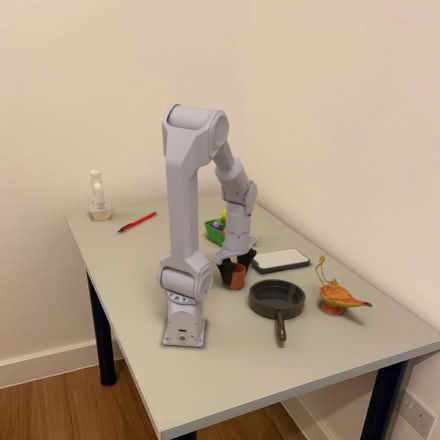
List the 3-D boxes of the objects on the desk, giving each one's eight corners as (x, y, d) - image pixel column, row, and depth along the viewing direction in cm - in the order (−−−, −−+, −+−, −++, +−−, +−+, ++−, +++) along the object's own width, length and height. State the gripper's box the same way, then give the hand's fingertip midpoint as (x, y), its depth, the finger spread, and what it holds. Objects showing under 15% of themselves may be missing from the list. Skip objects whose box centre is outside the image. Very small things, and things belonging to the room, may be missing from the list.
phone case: (294, 252, 128) (245, 260, 122) (294, 247, 127) (245, 255, 121) (311, 266, 121) (260, 275, 115) (312, 261, 120) (261, 269, 114)
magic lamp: (353, 336, 94) (364, 293, 88) (300, 296, 107) (307, 255, 101) (376, 328, 97) (388, 285, 91) (322, 289, 110) (329, 250, 104)
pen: (117, 232, 134) (117, 229, 133) (155, 213, 148) (155, 209, 147) (119, 233, 133) (119, 229, 133) (157, 213, 148) (157, 210, 147)
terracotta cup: (244, 290, 108) (246, 273, 106) (222, 289, 108) (223, 272, 106) (244, 280, 113) (245, 263, 110) (223, 278, 113) (224, 262, 110)
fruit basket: (202, 237, 133) (202, 202, 127) (225, 231, 138) (226, 196, 132) (225, 252, 126) (227, 214, 120) (248, 244, 130) (251, 208, 124)
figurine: (91, 224, 139) (85, 177, 131) (87, 213, 146) (81, 167, 138) (114, 221, 141) (110, 175, 133) (109, 210, 148) (104, 166, 140)
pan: (306, 322, 98) (308, 310, 96) (249, 318, 98) (250, 306, 97) (300, 291, 109) (301, 280, 107) (248, 288, 109) (249, 277, 107)
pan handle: (274, 313, 98) (275, 307, 97) (282, 314, 98) (283, 307, 97) (277, 343, 89) (278, 337, 88) (286, 344, 89) (287, 337, 88)
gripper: (243, 216, 109) (240, 264, 117) (203, 233, 100) (202, 284, 107) (266, 224, 106) (261, 274, 113) (227, 243, 96) (224, 295, 103)
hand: (234, 279), depth 110 cm, fingers closed on terracotta cup, 5 cm apart
